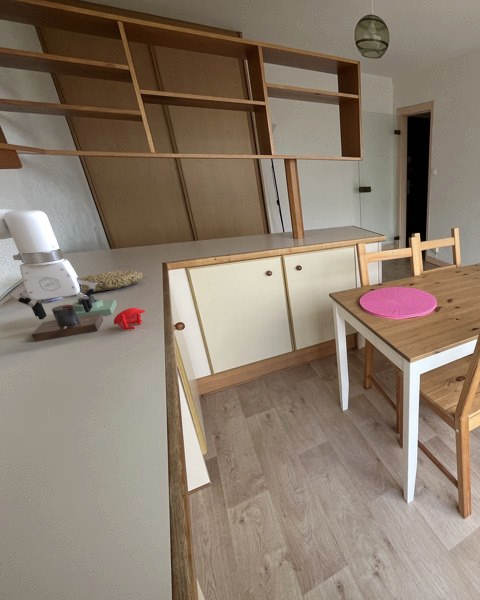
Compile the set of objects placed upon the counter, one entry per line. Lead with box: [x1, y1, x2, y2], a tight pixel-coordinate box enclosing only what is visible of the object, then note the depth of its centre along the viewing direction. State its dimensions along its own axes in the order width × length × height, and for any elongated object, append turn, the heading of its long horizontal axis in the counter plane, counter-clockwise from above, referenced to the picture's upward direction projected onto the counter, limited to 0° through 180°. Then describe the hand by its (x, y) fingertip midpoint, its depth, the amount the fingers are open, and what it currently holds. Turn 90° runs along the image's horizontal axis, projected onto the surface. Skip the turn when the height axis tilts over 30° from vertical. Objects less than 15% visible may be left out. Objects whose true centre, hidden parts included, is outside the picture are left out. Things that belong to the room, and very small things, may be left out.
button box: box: [72, 297, 118, 317], centre depth 105 cm, size 12×10×4 cm
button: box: [77, 295, 96, 305], centre depth 104 cm, size 4×4×2 cm
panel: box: [31, 314, 104, 343], centre depth 93 cm, size 13×9×3 cm
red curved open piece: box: [113, 307, 146, 331], centre depth 95 cm, size 8×6×6 cm
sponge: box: [80, 270, 144, 293], centre depth 127 cm, size 13×8×20 cm
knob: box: [51, 304, 79, 326], centre depth 91 cm, size 4×4×5 cm
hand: (66, 314), depth 91 cm, fingers open, 9 cm apart
